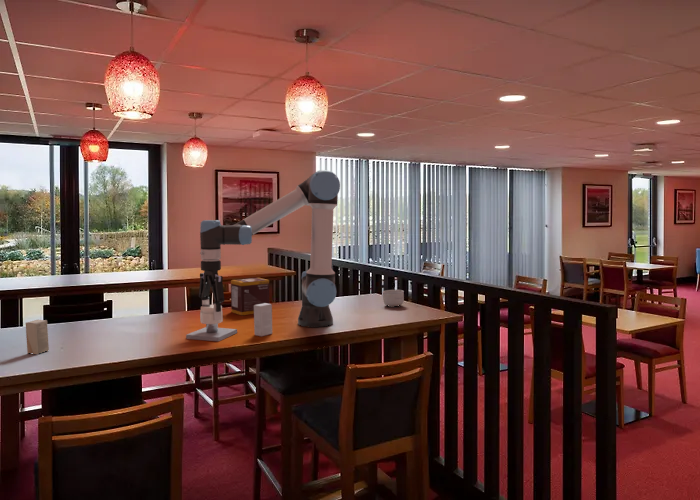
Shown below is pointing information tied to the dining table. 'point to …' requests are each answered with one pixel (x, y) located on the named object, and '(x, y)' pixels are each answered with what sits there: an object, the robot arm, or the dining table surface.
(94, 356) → the dining table surface
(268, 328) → the skincare box
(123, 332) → the dining table surface
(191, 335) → the board
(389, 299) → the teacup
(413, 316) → the dining table surface
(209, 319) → the white lidded jar
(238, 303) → the supplement box
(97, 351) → the dining table surface
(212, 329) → the post
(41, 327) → the box
